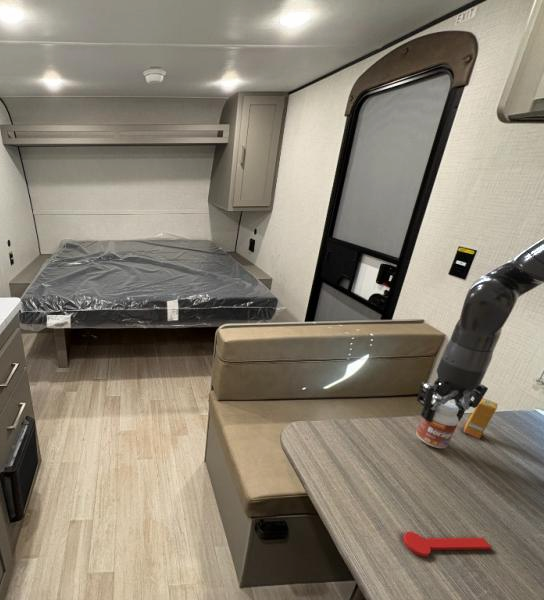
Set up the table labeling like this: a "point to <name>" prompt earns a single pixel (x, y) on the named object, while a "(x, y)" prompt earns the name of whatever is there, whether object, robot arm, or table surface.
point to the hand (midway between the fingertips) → (440, 419)
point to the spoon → (442, 544)
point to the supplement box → (480, 418)
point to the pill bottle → (439, 426)
